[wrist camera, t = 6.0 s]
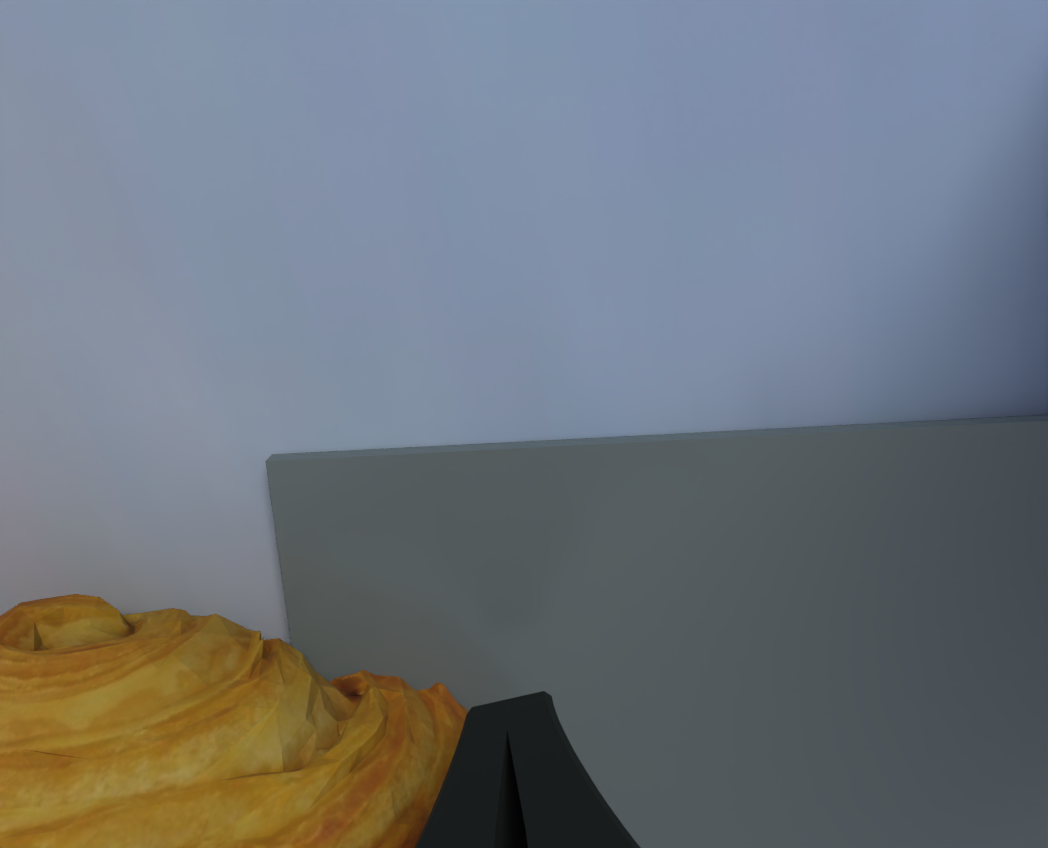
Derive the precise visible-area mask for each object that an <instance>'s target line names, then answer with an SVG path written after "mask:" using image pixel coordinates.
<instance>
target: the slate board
mask: <svg viewBox="0 0 1048 848" xmlns="http://www.w3.org/2000/svg"><path fill="white" fill-rule="evenodd" d="M266 468H267V475H268V482H269V489H270V496H271V503H272V510H273V517H274V524H275V531H276V538H277V545H278V553H279V560H280V567H281V574H282V581H283V588H284V595H285V602H286V609H287V616H288V623H289V630H290V637H291V645H292V647H293V648H295V649H296V650H298V651H299V652H301V653H302V654H303V655H304V656H305V658H306V659H307V660H308V662H309V663H310V664H311V666H312V667H313V668H314V670H315V671H316V672H317V673H318V674H320V675H321V676H322V677H323V678H325V679H326V680H327V681H328V682H330V681H332V680H333V679H335V678H338V677H342V676H346V675H350V674H354V673H357V672H359V671H361V669H362V670H365V671H368V672H370V673H372V674H374V675H383V676H396V677H400V678H401V679H403V680H404V681H405V682H407V683H408V684H409V685H410V686H411V687H412V688H413V689H414V690H415V691H417V690H422V689H430V688H431V687H432V686H433V685H434V684H435V683H437V682H439V683H441V684H444V685H445V687H446V688H447V690H448V691H449V692H450V694H451V695H452V696H453V698H454V699H455V701H456V702H458V703H459V704H461V705H462V706H464V707H465V708H466V709H467V711H468V712H469V710H470V709H471V708H472V707H475V706H479V705H484V704H488V703H492V702H497V701H501V700H506V699H510V698H515V697H519V696H523V695H528V694H532V693H537V692H541V691H545V692H546V693H548V694H550V695H551V696H552V700H553V704H554V708H555V711H556V713H557V716H558V719H559V721H560V723H561V725H562V728H563V730H564V732H565V734H566V736H567V738H568V740H569V742H570V744H571V746H572V747H573V749H574V751H575V753H576V755H577V756H578V758H579V760H580V761H581V763H582V765H583V766H584V768H585V770H586V771H587V773H588V774H589V776H590V778H591V779H592V781H593V782H594V784H595V786H596V787H597V789H598V790H599V792H600V793H601V795H602V796H603V798H604V799H605V801H606V802H607V804H608V805H609V806H610V808H611V809H612V810H613V812H614V813H615V815H616V816H617V817H618V819H619V820H620V822H621V823H622V824H623V826H624V827H625V828H626V830H627V831H628V832H629V834H630V835H631V836H632V837H633V839H634V840H635V841H636V843H637V844H638V845H639V846H640V848H1048V415H1036V416H1016V417H996V418H977V419H957V420H938V421H918V422H899V423H879V424H859V425H840V426H820V427H801V428H781V429H762V430H742V431H722V432H703V433H683V434H664V435H644V436H625V437H605V438H585V439H566V440H546V441H527V442H507V443H488V444H468V445H448V446H429V447H409V448H390V449H370V450H351V451H331V452H311V453H292V454H272V455H271V456H270V457H269V458H268V459H267V460H266Z"/></svg>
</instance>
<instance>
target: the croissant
mask: <svg viewBox="0 0 1048 848" xmlns="http://www.w3.org/2000/svg"><path fill="white" fill-rule="evenodd" d="M263 639H264V638H263ZM263 639H262V640H261V633H260V631H251V630H248V629H246V628H244V627H242V626H240V625H238V624H236V623H234V622H232V621H230V620H228V619H226V618H224V617H221V616H219V615H217V614H214V615H210V616H191V615H189V614H188V613H187V612H186V611H185V610H180V609H174V608H172V609H165V610H158V611H152V612H145V613H137V614H129V615H122V614H121V613H120V612H119V611H118V610H117V609H116V608H114V607H113V606H111V605H110V604H109V603H107V602H106V601H104V600H103V599H101V598H100V597H94V596H87V595H79V594H74V595H66V596H59V597H53V598H46V599H40V600H34V601H28V602H22V603H20V604H18V605H17V606H15V607H13V608H12V609H10V610H9V611H7V612H6V613H4V614H3V615H1V616H0V848H415V846H416V844H417V841H418V839H419V837H420V835H421V833H422V831H423V829H424V827H425V825H426V822H427V820H428V818H429V816H430V813H431V811H432V809H433V806H434V804H435V801H436V799H437V796H438V794H439V792H440V789H441V787H442V784H443V782H444V779H445V777H446V774H447V772H448V769H449V766H450V764H451V761H452V758H453V756H454V753H455V750H456V747H457V744H458V741H459V738H460V735H461V732H462V729H463V725H464V722H465V718H466V715H467V713H468V711H467V709H466V708H465V707H464V706H462V705H461V704H459V703H458V702H456V701H455V699H454V698H453V696H452V695H451V694H450V692H449V691H448V690H447V688H446V687H445V685H444V684H441V683H439V682H437V683H435V684H434V685H433V686H432V687H431V688H430V689H422V690H417V691H415V690H414V689H413V688H412V687H411V686H410V685H409V684H408V683H407V682H405V681H404V680H403V679H401V678H400V677H396V676H383V675H374V674H372V673H370V672H368V671H365V670H362V669H361V671H359V672H357V673H354V674H350V675H346V676H342V677H338V678H335V679H333V680H332V681H330V682H328V681H327V680H326V679H325V678H323V677H322V676H321V675H320V674H318V673H317V672H316V671H315V670H314V668H313V667H312V666H311V664H310V663H309V662H308V660H307V659H306V658H305V656H304V655H303V654H302V653H301V652H299V651H298V650H296V649H295V648H293V647H292V646H290V645H288V644H287V643H285V642H284V641H282V640H281V639H279V638H278V639H270V640H263Z"/></svg>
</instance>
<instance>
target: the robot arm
mask: <svg viewBox="0 0 1048 848" xmlns="http://www.w3.org/2000/svg"><path fill="white" fill-rule="evenodd" d="M415 848H640V846H639V845H638V844H637V843H636V841H635V840H634V839H633V837H632V836H631V835H630V834H629V832H628V831H627V830H626V828H625V827H624V826H623V824H622V823H621V822H620V820H619V819H618V817H617V816H616V815H615V813H614V812H613V810H612V809H611V808H610V806H609V805H608V804H607V802H606V801H605V799H604V798H603V796H602V795H601V793H600V792H599V790H598V789H597V787H596V786H595V784H594V782H593V781H592V779H591V778H590V776H589V774H588V773H587V771H586V770H585V768H584V766H583V765H582V763H581V761H580V760H579V758H578V756H577V755H576V753H575V751H574V749H573V747H572V746H571V744H570V742H569V740H568V738H567V736H566V734H565V732H564V730H563V728H562V725H561V723H560V721H559V719H558V716H557V713H556V711H555V708H554V704H553V700H552V696H551V695H550V694H548V693H546V692H545V691H541V692H537V693H532V694H528V695H523V696H519V697H515V698H510V699H506V700H501V701H497V702H492V703H488V704H484V705H479V706H475V707H472V708H471V709H470V710H469V712H468V713H467V715H466V718H465V722H464V725H463V729H462V732H461V735H460V738H459V741H458V744H457V747H456V750H455V753H454V756H453V758H452V761H451V764H450V766H449V769H448V772H447V774H446V777H445V779H444V782H443V784H442V787H441V789H440V792H439V794H438V796H437V799H436V801H435V804H434V806H433V809H432V811H431V813H430V816H429V818H428V820H427V822H426V825H425V827H424V829H423V831H422V833H421V835H420V837H419V839H418V841H417V844H416V846H415Z"/></svg>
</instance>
